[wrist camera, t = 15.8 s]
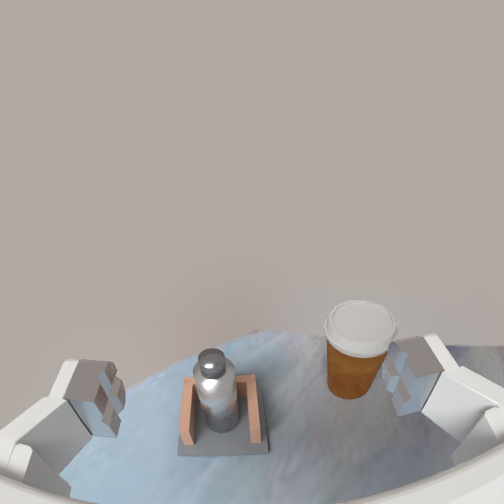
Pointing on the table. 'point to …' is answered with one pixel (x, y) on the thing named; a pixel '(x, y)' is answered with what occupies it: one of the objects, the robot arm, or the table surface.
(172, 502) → the table surface
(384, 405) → the table surface
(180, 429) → the dock
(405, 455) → the table surface
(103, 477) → the table surface
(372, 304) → the disposable coffee cup
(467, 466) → the robot arm
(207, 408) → the silver water flask
